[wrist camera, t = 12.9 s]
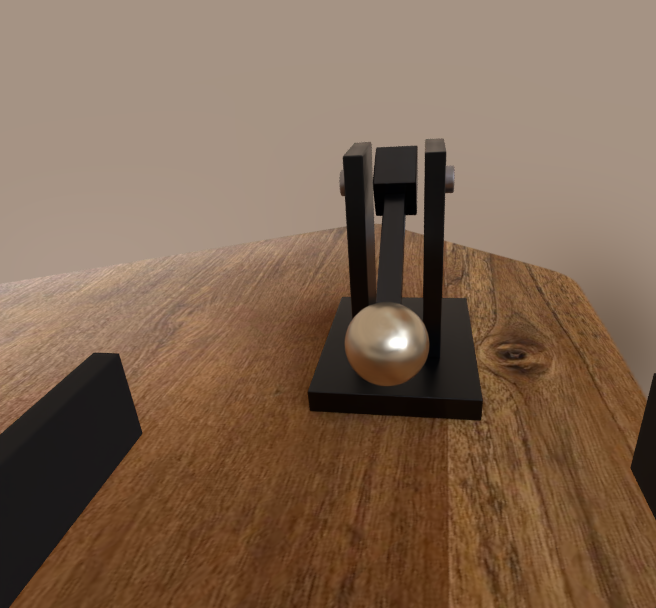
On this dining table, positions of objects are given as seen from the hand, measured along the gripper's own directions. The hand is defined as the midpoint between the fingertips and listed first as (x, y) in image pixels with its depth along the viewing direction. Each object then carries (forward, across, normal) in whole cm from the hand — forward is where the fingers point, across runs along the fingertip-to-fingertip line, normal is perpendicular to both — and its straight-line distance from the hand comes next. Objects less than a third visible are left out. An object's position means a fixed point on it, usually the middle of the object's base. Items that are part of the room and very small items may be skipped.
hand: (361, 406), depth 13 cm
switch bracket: (+17, 0, -9) cm, 19 cm away
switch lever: (+13, 0, -2) cm, 14 cm away
